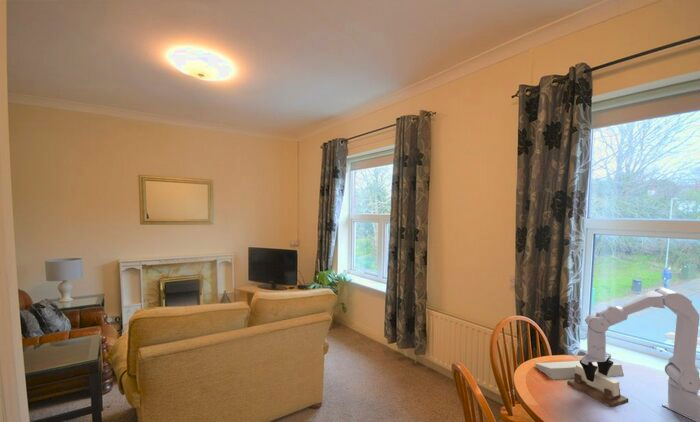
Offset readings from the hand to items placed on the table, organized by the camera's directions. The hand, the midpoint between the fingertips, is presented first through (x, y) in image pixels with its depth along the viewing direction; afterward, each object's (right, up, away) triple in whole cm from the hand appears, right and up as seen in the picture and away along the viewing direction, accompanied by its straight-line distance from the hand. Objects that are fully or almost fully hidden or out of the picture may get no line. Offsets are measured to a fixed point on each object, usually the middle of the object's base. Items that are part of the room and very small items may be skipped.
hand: (596, 378), depth 118 cm
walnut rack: (0, -5, 0) cm, 5 cm away
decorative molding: (+5, -6, +15) cm, 17 cm away
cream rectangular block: (0, -3, 0) cm, 3 cm away
